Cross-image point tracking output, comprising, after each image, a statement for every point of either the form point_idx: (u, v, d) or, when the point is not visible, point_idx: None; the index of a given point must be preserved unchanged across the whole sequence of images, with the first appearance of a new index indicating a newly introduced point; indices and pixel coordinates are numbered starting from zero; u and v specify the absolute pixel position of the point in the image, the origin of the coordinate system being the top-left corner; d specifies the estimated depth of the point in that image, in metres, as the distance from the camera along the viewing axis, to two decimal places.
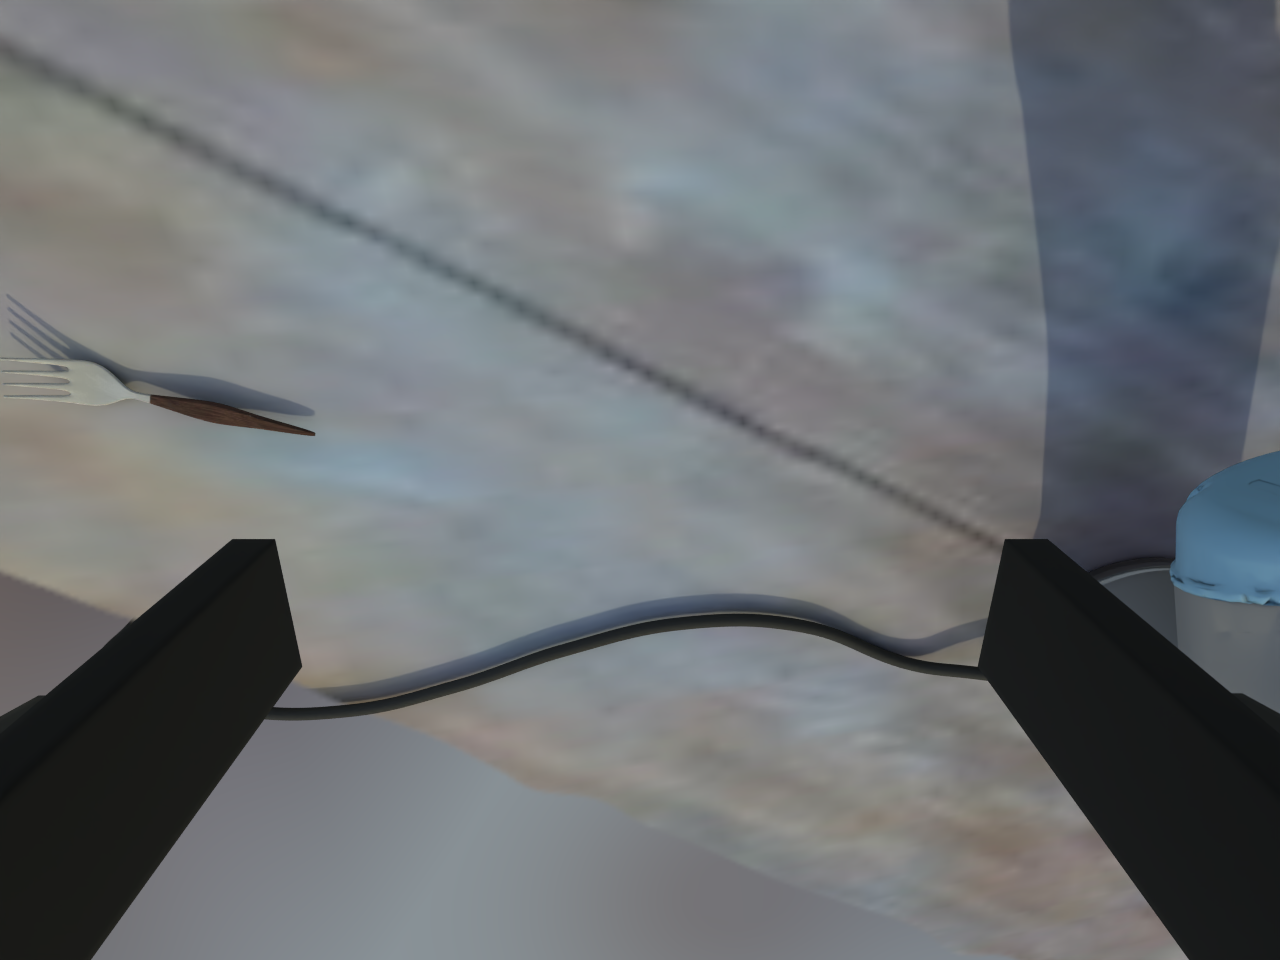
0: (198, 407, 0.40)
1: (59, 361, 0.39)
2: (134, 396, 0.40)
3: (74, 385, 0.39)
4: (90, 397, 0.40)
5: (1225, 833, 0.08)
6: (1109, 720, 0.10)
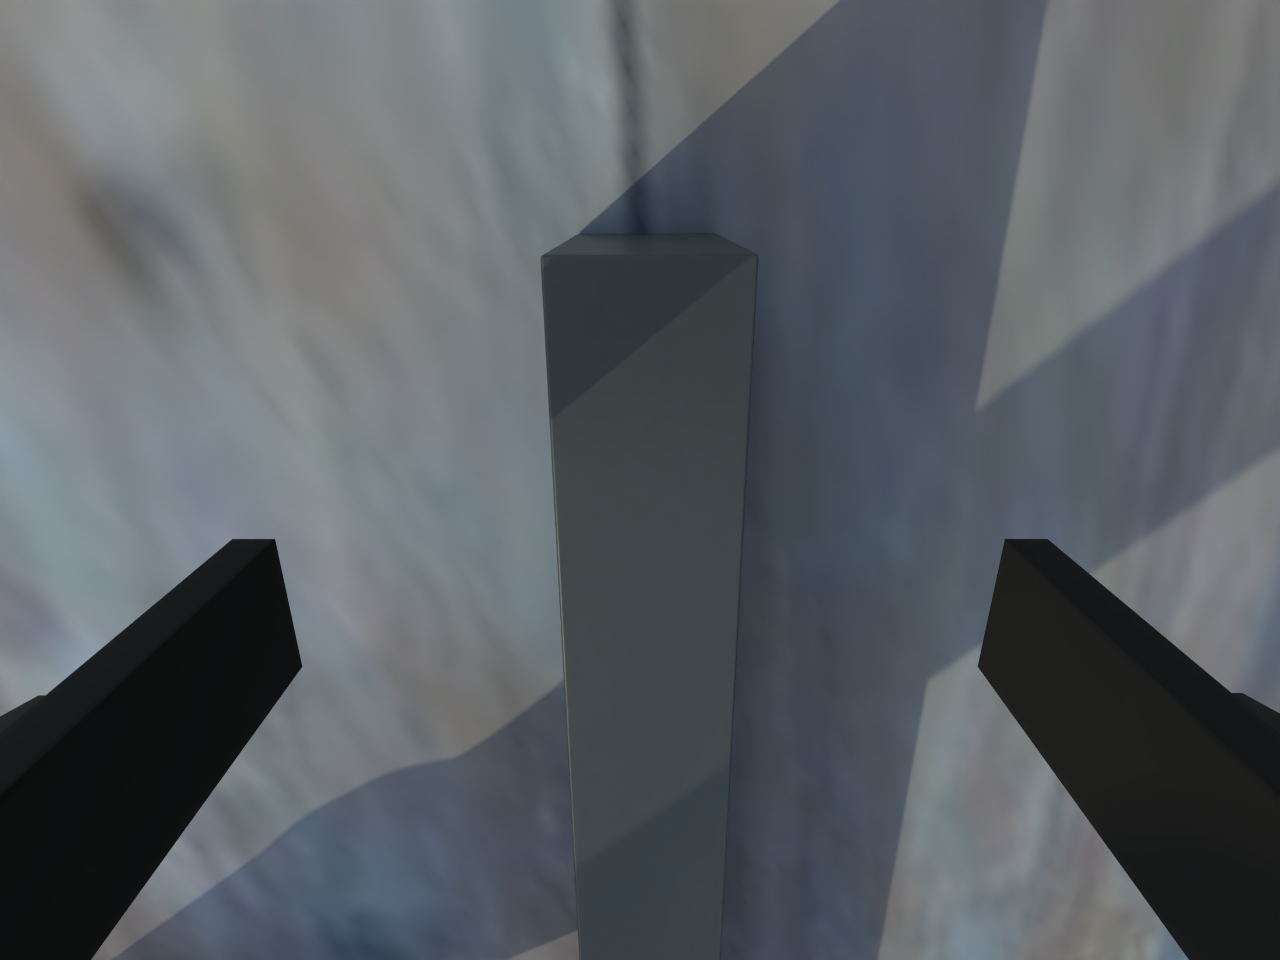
0: None
1: None
2: None
3: None
4: None
5: (1225, 833, 0.08)
6: (1109, 720, 0.10)
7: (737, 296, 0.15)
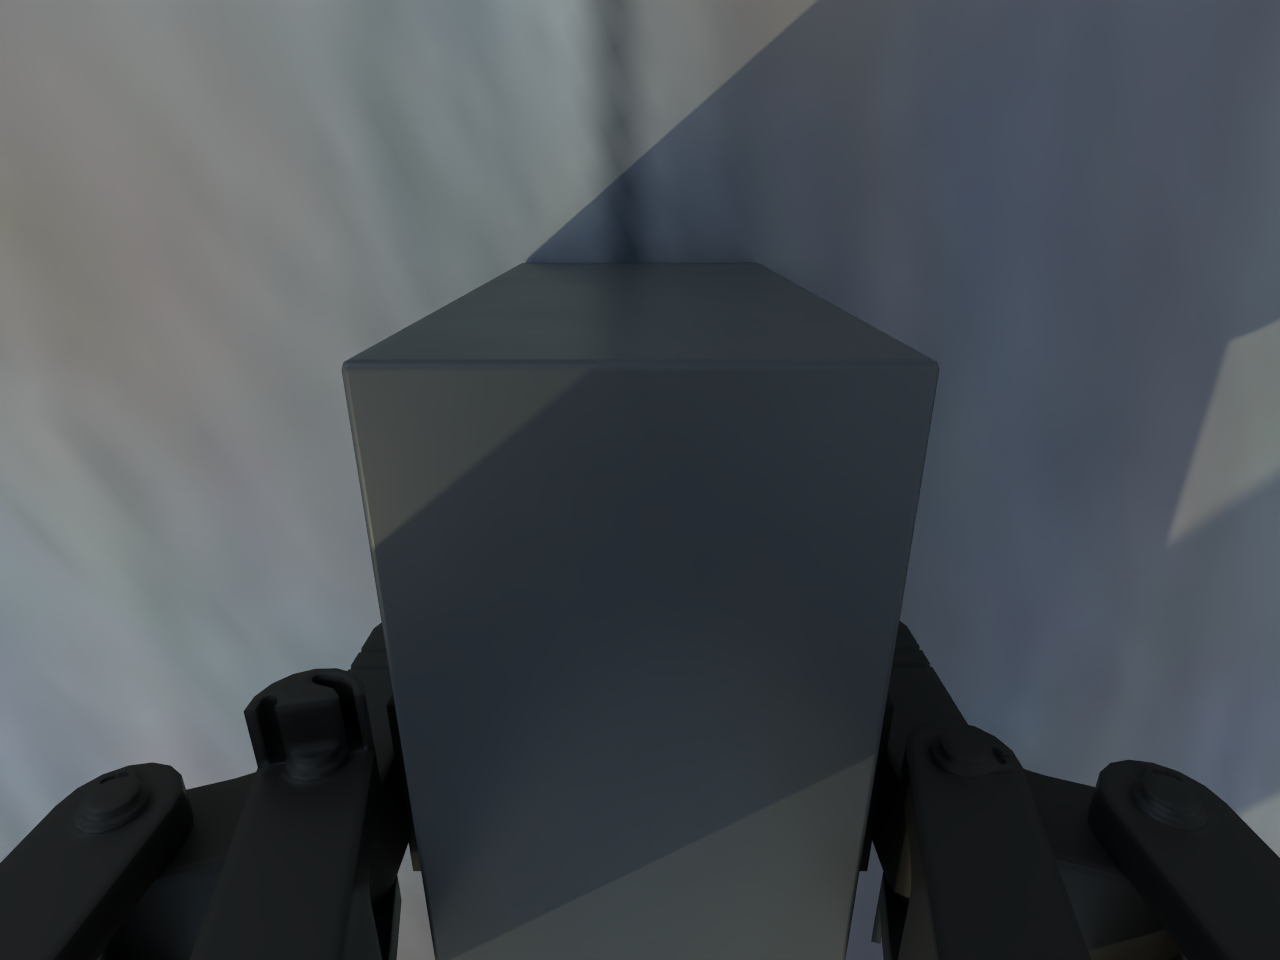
0: None
1: None
2: None
3: None
4: None
5: None
6: None
7: (875, 469, 0.06)
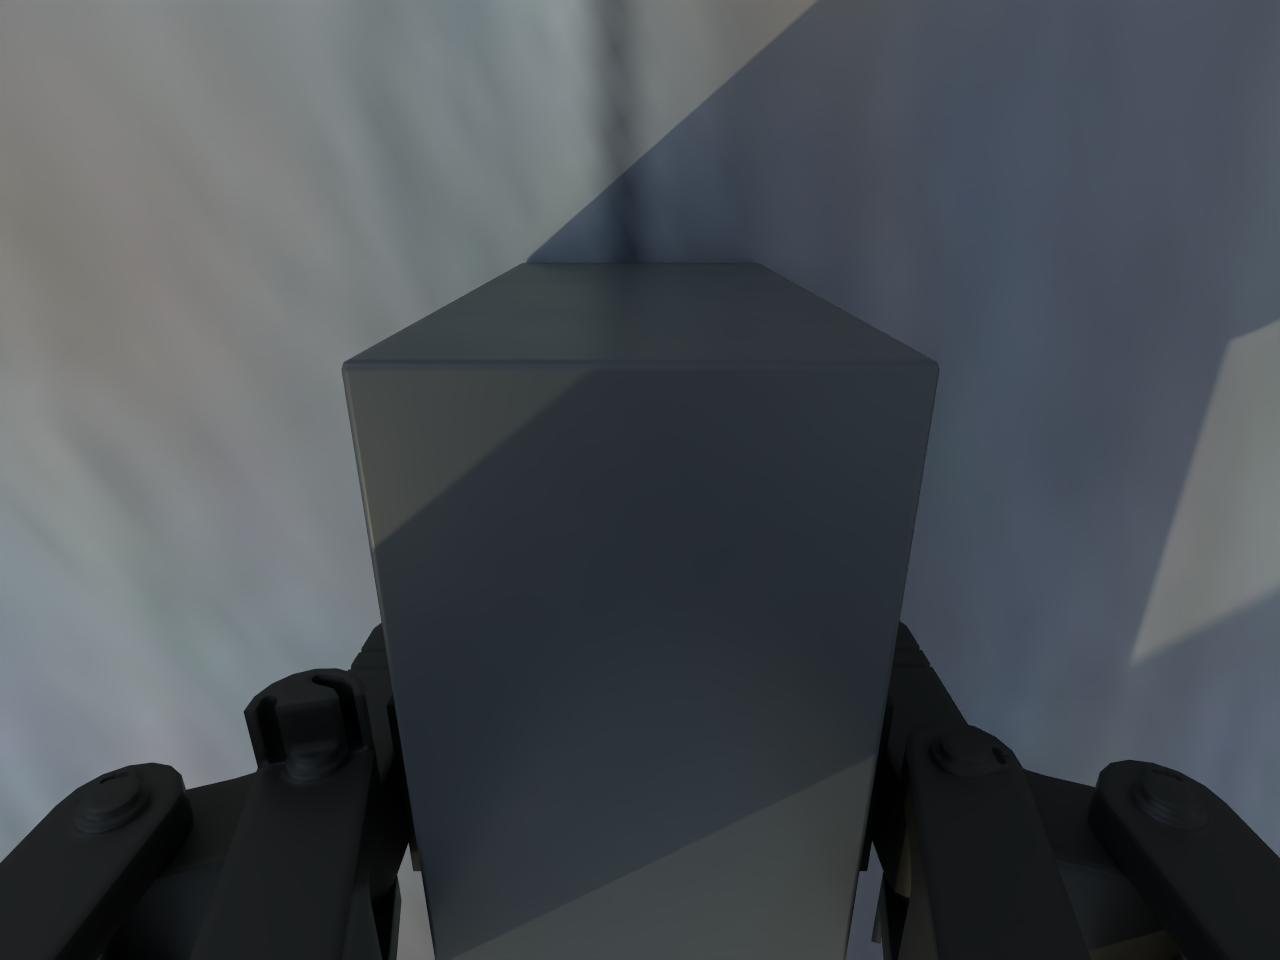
0: None
1: None
2: None
3: None
4: None
5: None
6: None
7: (876, 469, 0.06)
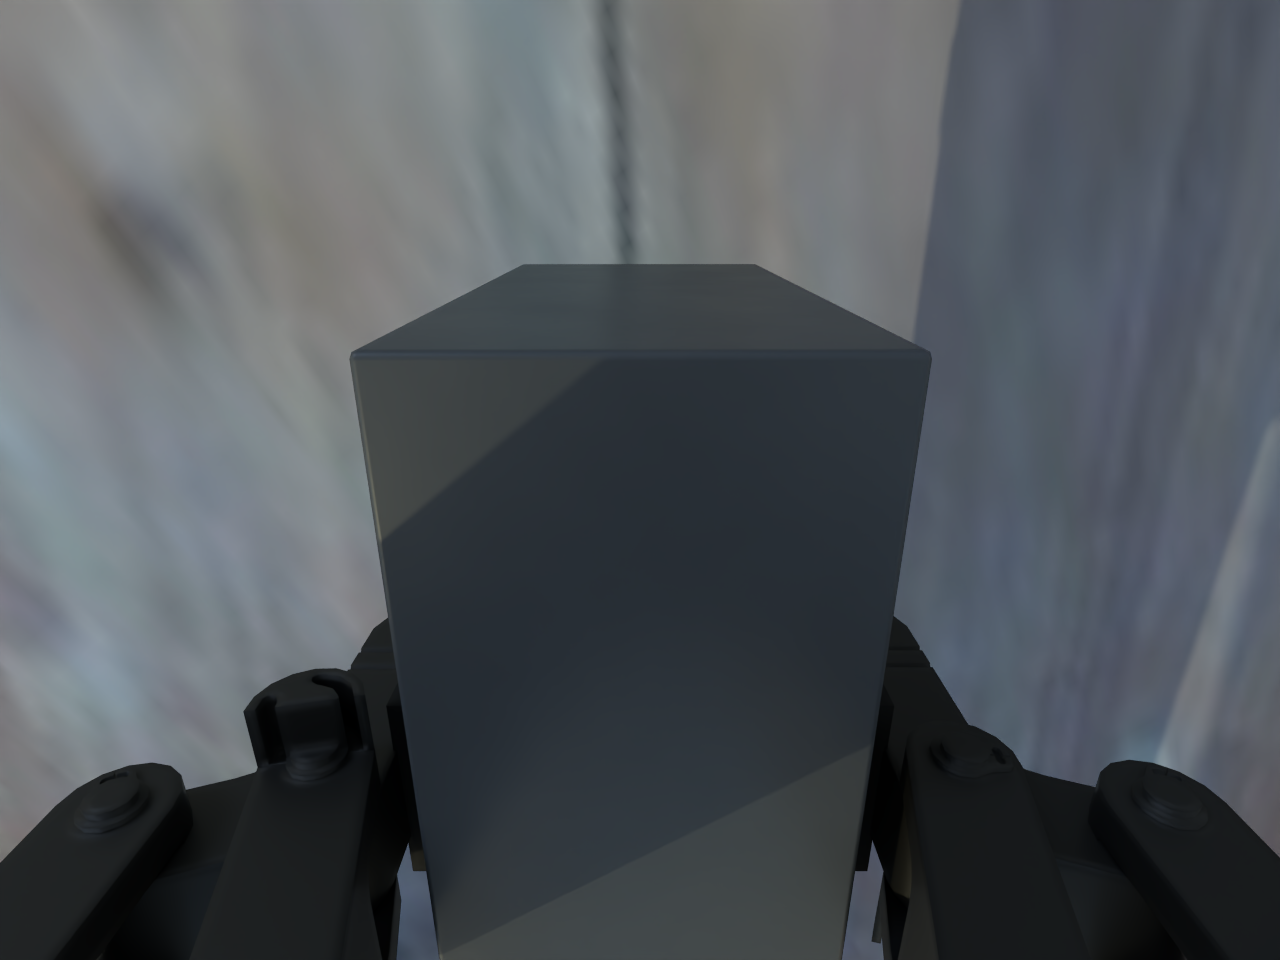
0: None
1: None
2: None
3: None
4: None
5: None
6: None
7: (871, 457, 0.06)
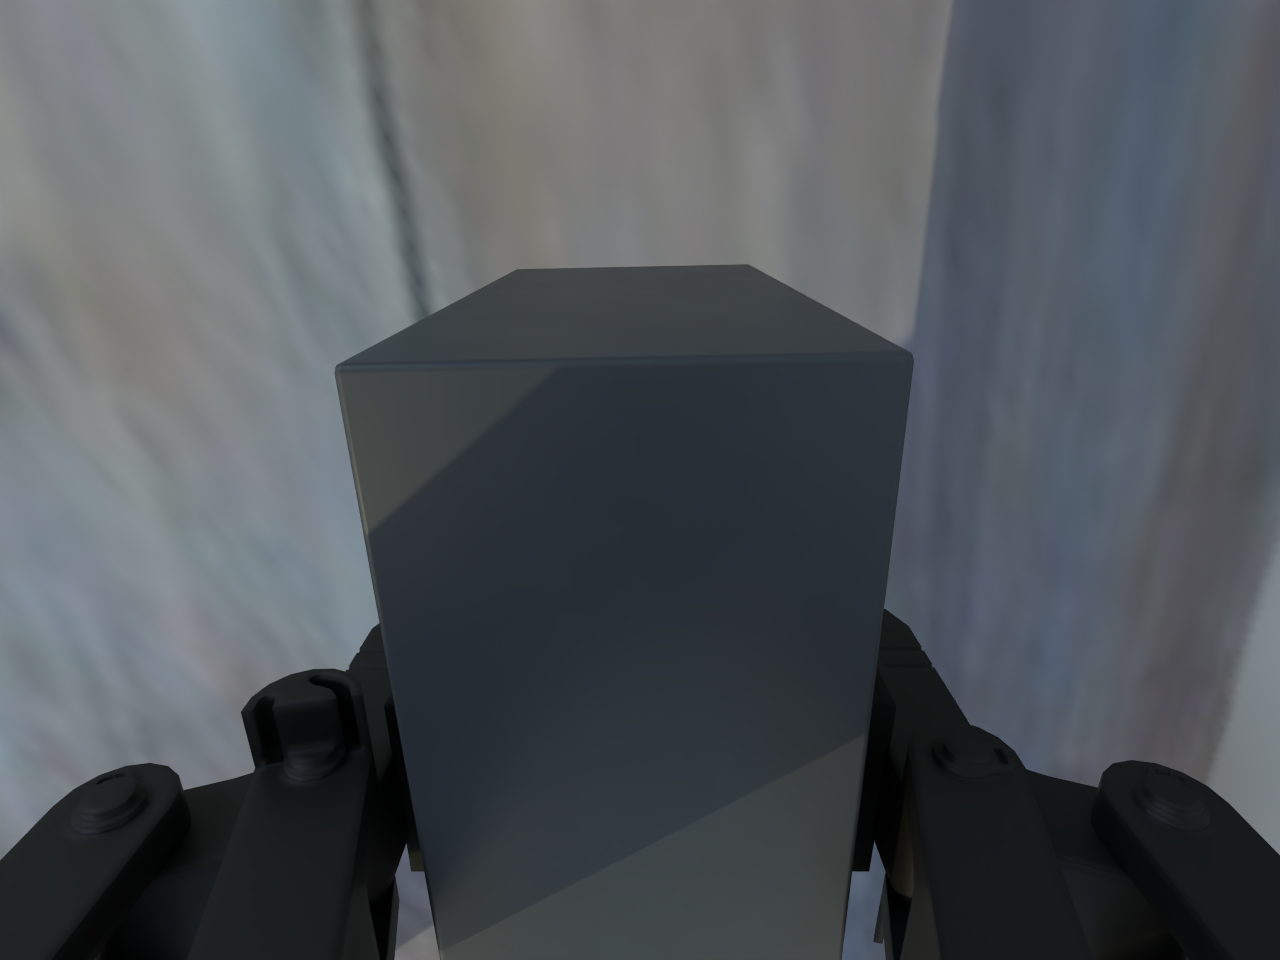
0: None
1: None
2: None
3: None
4: None
5: None
6: None
7: (857, 458, 0.06)
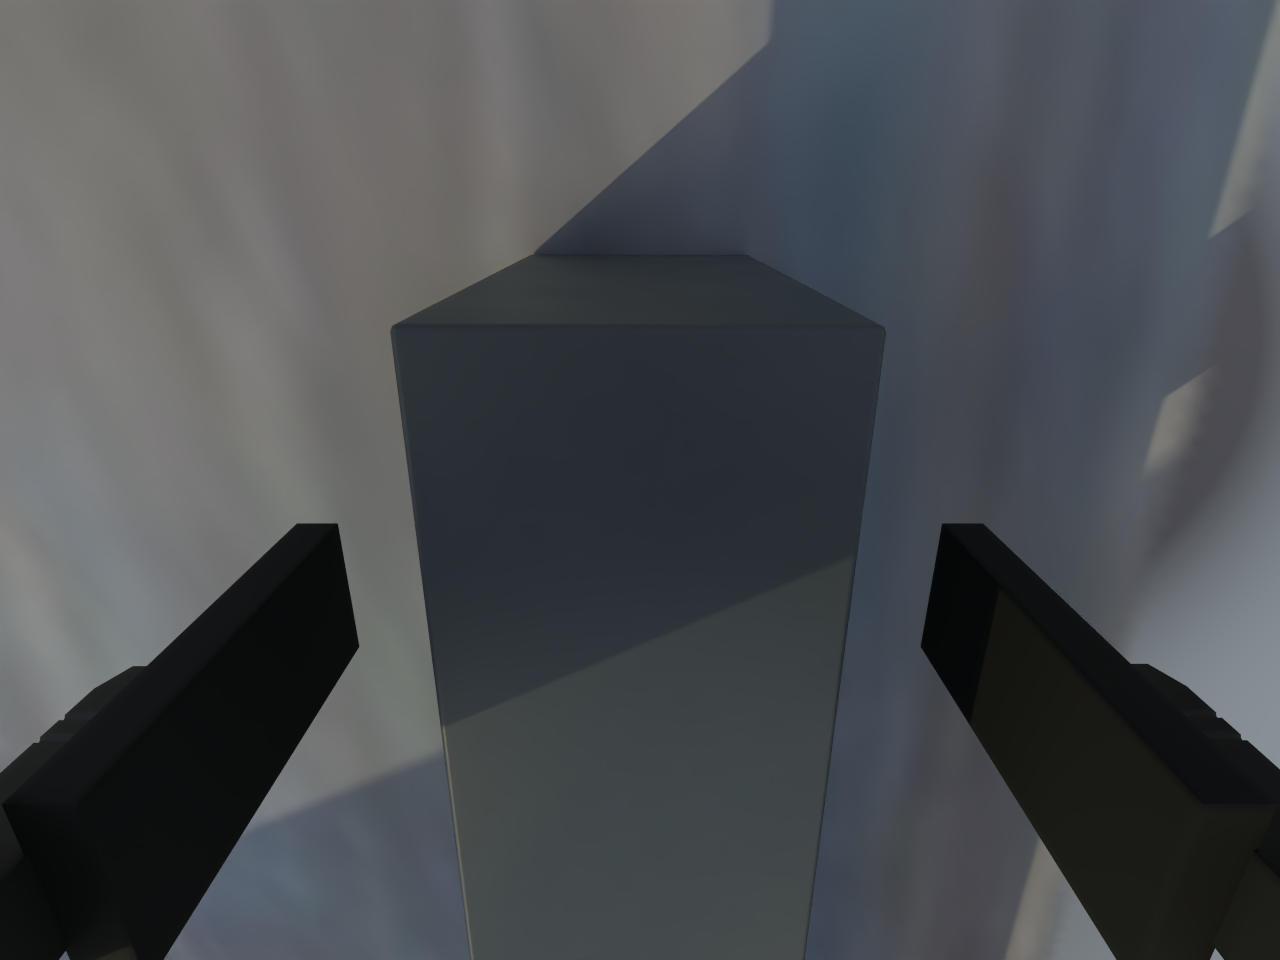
0: None
1: None
2: None
3: None
4: None
5: (1112, 788, 0.08)
6: (1024, 690, 0.10)
7: (836, 418, 0.07)
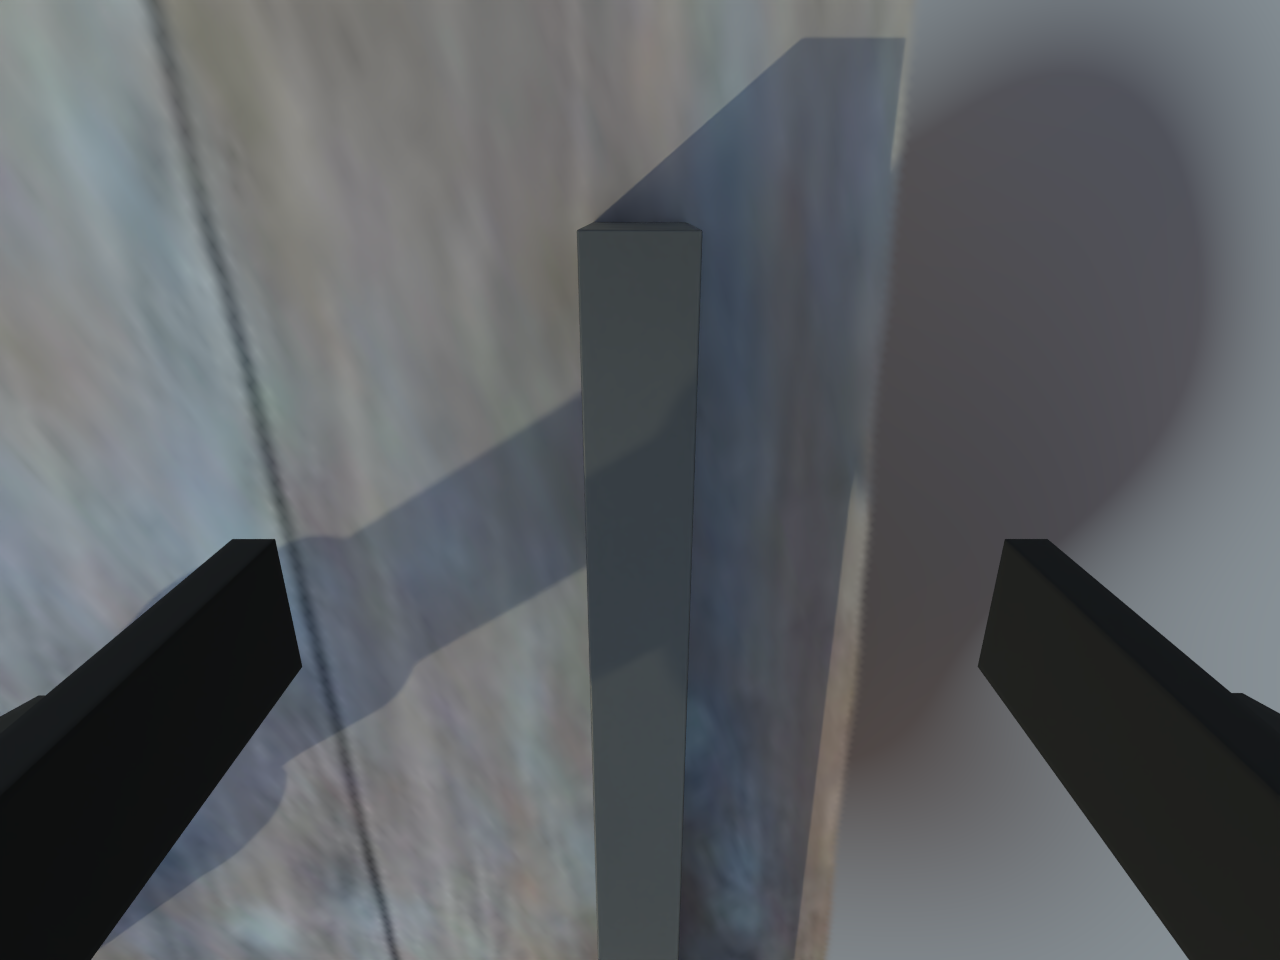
0: None
1: None
2: None
3: None
4: None
5: (1225, 833, 0.08)
6: (1109, 720, 0.10)
7: (691, 254, 0.26)
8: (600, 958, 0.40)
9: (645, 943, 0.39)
